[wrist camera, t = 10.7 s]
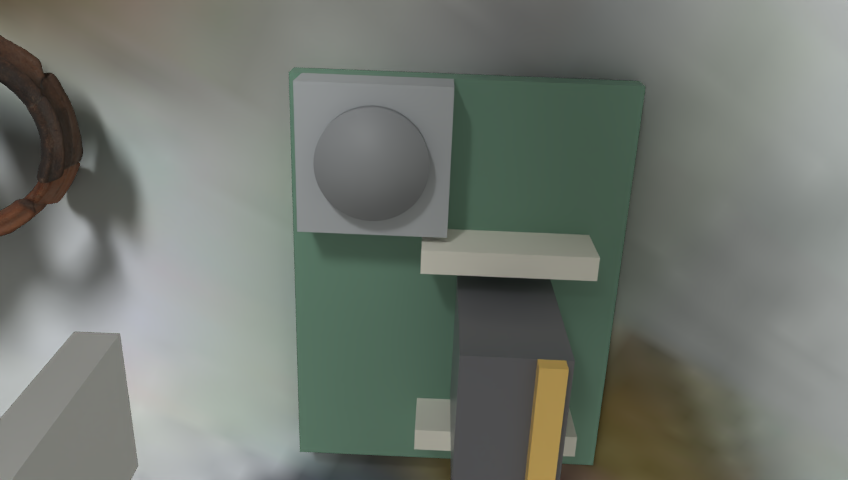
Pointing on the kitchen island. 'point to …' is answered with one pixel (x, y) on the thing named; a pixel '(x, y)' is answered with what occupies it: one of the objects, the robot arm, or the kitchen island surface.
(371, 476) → the kitchen island surface
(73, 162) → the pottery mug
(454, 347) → the plug
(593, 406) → the header board
